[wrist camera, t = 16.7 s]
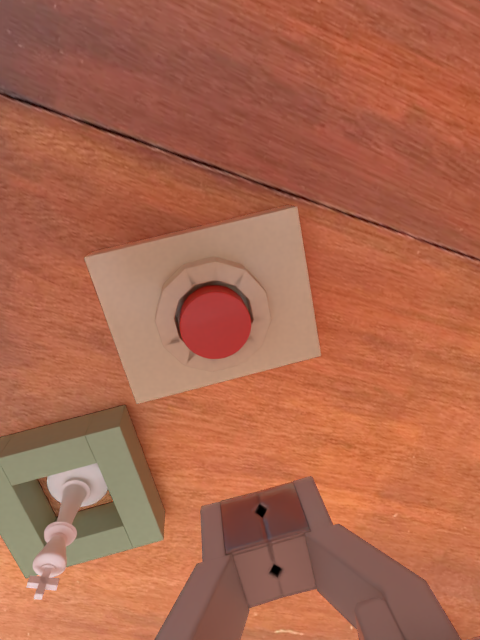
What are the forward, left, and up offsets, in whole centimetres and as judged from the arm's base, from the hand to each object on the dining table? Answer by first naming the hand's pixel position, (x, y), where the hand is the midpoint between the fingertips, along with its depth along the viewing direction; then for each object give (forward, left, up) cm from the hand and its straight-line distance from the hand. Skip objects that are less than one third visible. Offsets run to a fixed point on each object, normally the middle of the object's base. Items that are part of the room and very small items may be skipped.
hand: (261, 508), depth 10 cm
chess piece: (-14, -12, -20) cm, 27 cm away
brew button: (0, 0, -16) cm, 16 cm away
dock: (-14, -12, -20) cm, 27 cm away
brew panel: (0, 0, -20) cm, 20 cm away
